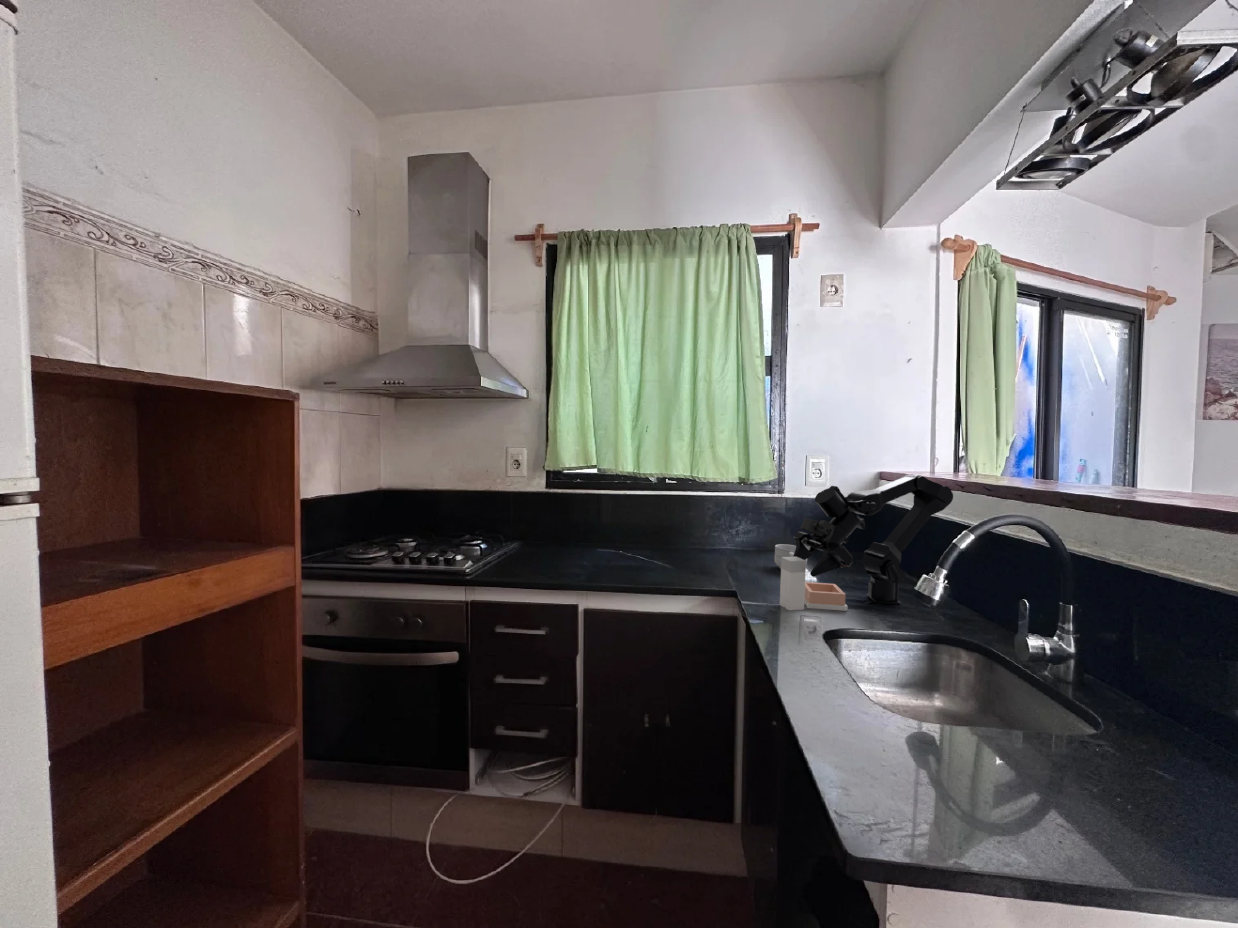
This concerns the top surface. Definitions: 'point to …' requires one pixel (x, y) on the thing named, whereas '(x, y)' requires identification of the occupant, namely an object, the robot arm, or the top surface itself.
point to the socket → (824, 596)
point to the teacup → (783, 552)
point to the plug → (792, 583)
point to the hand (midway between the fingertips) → (800, 570)
